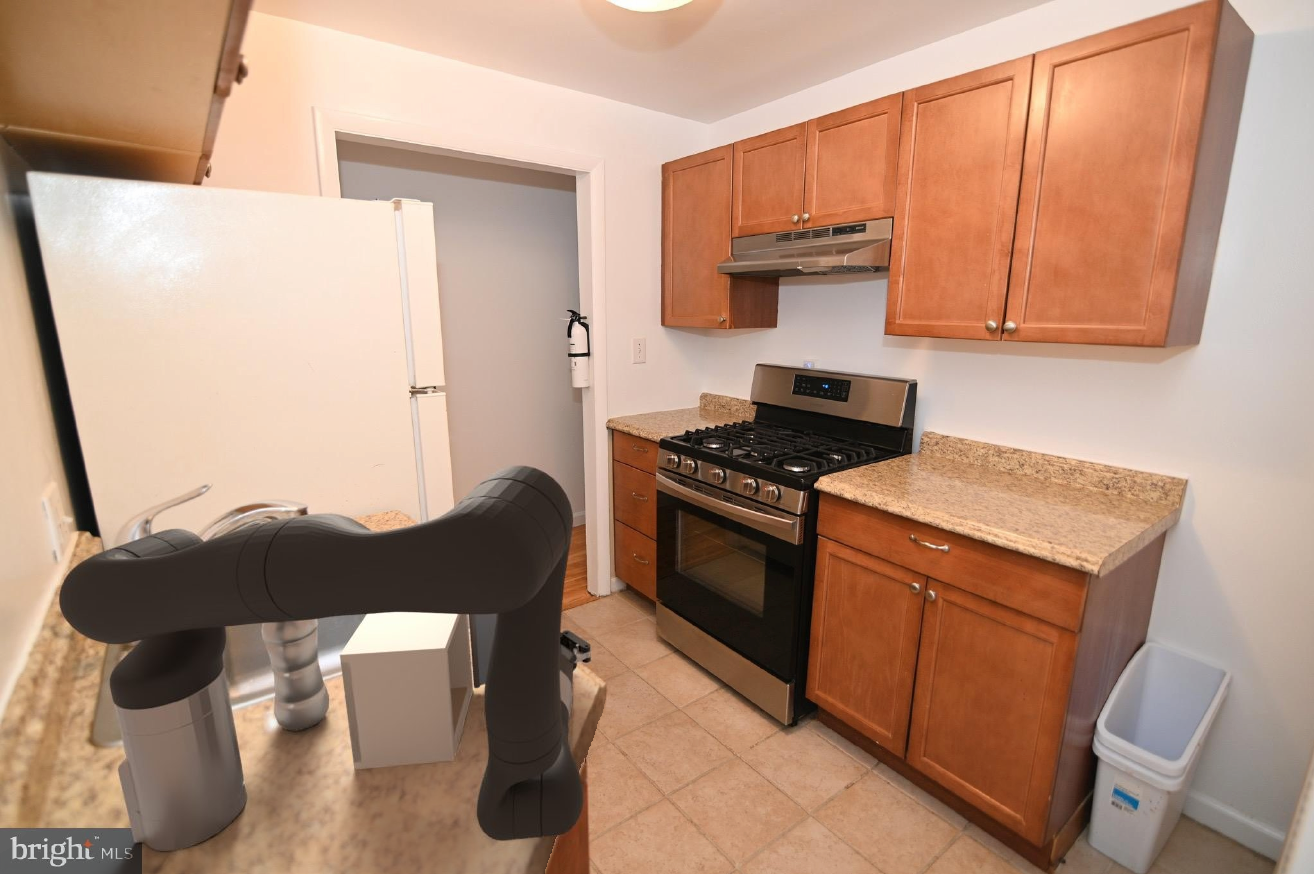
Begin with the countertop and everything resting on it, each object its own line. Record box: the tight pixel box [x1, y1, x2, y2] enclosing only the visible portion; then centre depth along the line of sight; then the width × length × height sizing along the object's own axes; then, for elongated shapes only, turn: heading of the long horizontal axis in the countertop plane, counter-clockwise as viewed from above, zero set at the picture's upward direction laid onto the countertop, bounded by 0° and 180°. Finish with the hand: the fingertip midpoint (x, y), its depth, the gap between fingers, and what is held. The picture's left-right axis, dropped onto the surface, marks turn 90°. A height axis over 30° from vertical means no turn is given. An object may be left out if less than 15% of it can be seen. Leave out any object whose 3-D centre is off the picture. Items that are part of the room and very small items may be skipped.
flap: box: [468, 614, 496, 689], centre depth 90 cm, size 1×14×15 cm, turn 126°
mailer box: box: [339, 612, 474, 770], centre depth 79 cm, size 12×14×16 cm
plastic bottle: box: [260, 619, 330, 732], centre depth 80 cm, size 6×7×20 cm
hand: (550, 623), depth 93 cm, fingers closed
